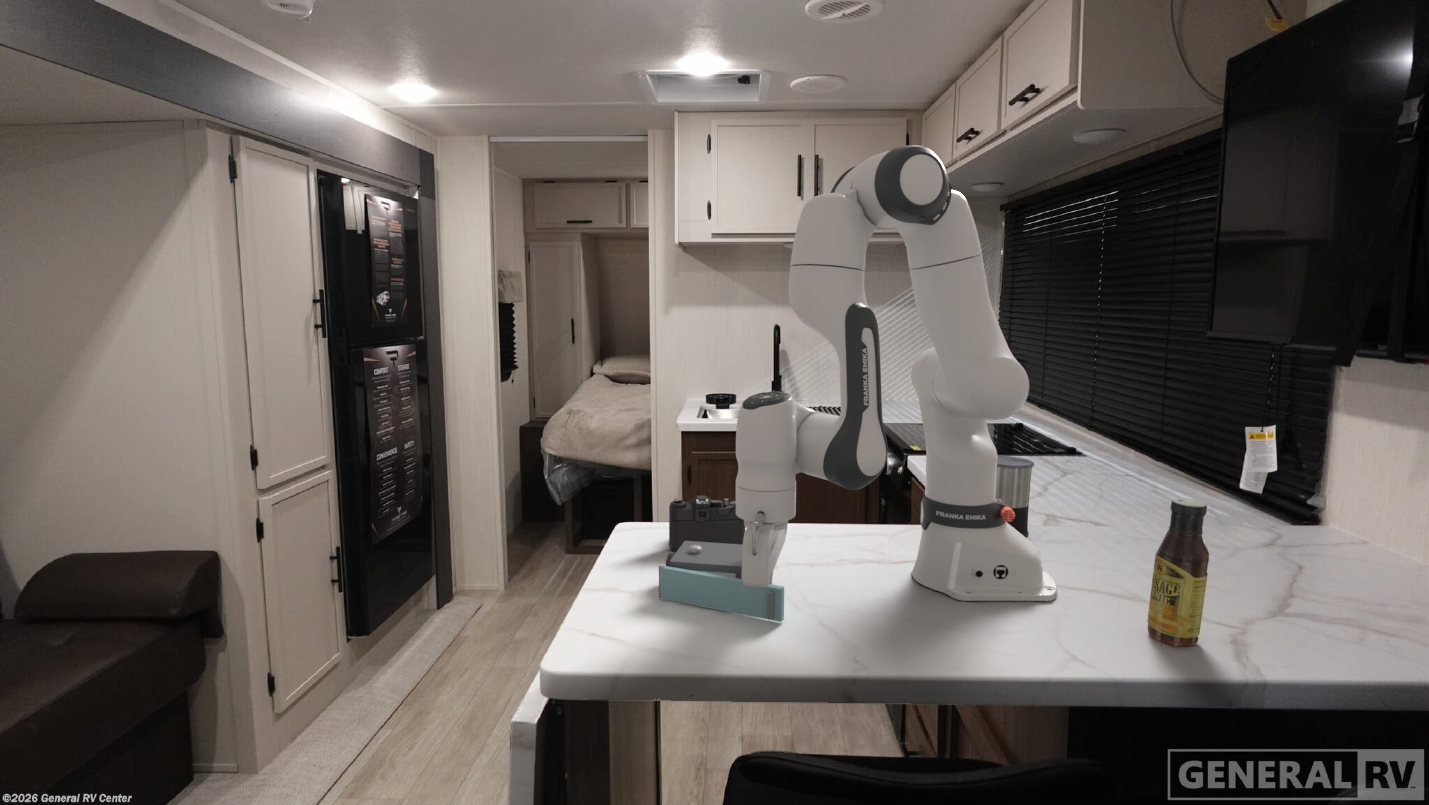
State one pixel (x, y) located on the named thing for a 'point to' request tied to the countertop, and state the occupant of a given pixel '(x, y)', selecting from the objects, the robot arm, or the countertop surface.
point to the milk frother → (1015, 488)
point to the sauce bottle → (1180, 577)
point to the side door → (721, 593)
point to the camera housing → (708, 558)
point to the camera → (704, 522)
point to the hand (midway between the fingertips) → (764, 593)
